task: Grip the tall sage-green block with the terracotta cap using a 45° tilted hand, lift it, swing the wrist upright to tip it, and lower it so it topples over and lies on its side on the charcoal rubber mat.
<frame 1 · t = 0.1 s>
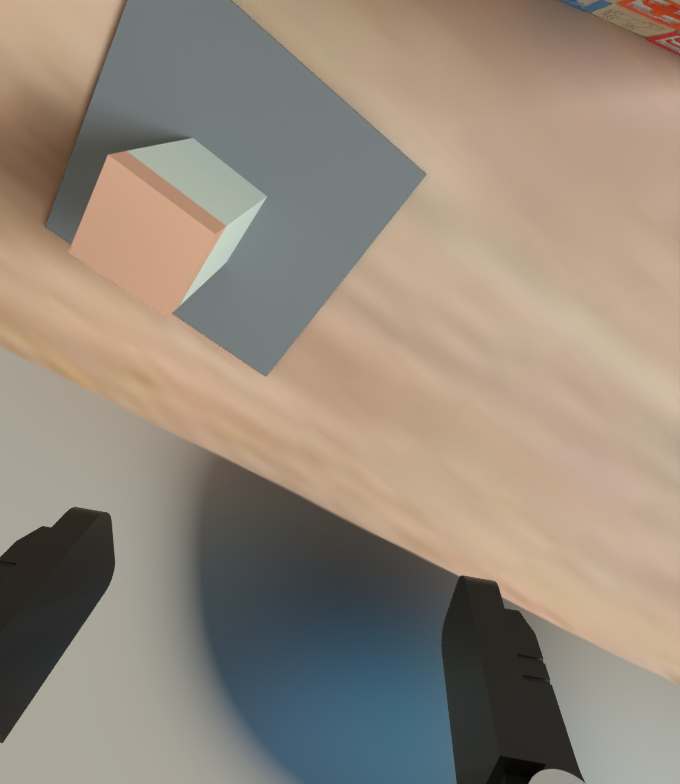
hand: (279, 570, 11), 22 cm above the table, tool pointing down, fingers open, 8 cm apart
charcoal mat: (223, 201, 28), on the table
sage block: (210, 204, 28), resting on charcoal mat
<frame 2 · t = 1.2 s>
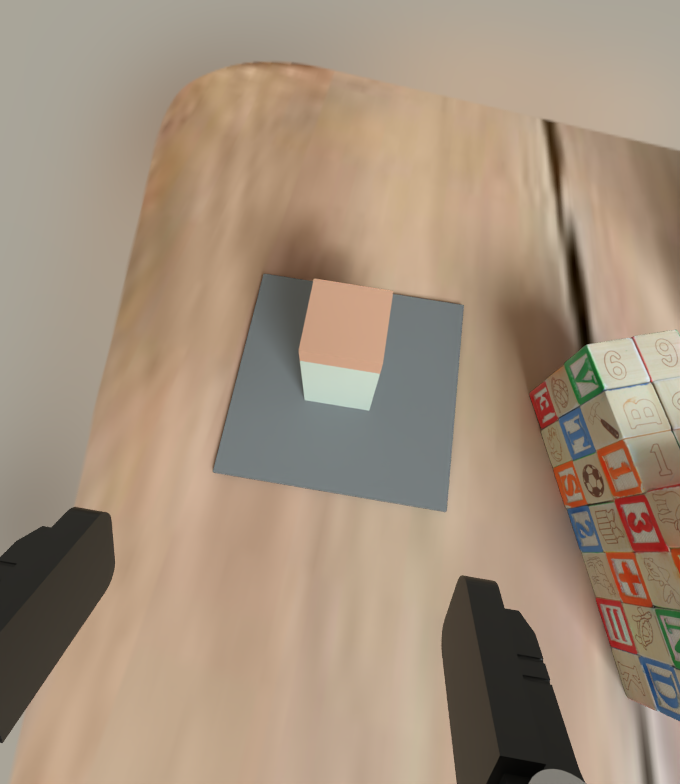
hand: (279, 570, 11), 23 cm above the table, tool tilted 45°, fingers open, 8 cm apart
charcoal mat: (347, 384, 37), on the table
stack of blocks: (609, 523, 34), on the table
sage block: (342, 375, 37), resting on charcoal mat
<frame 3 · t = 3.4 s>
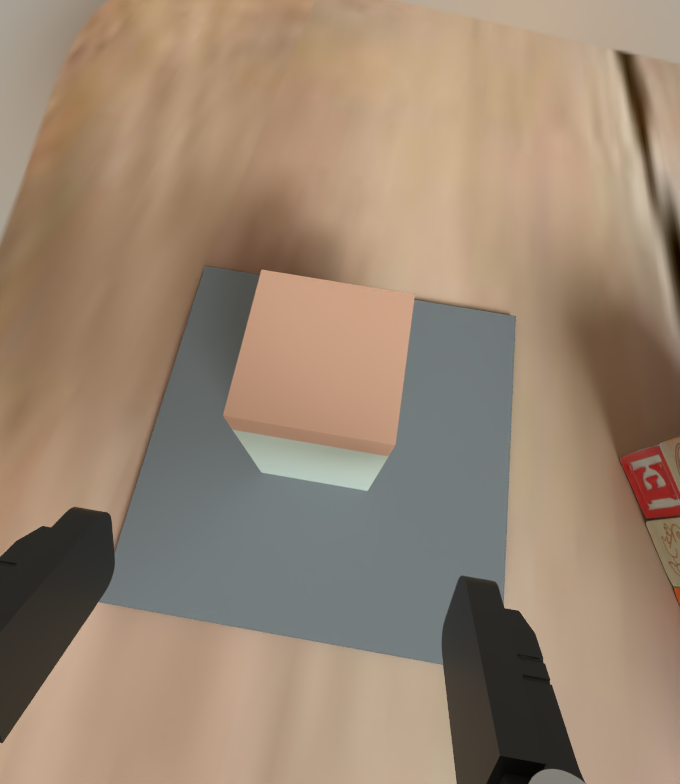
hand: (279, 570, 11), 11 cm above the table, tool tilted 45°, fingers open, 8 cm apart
charcoal mat: (332, 444, 23), on the table
sage block: (323, 430, 23), resting on charcoal mat
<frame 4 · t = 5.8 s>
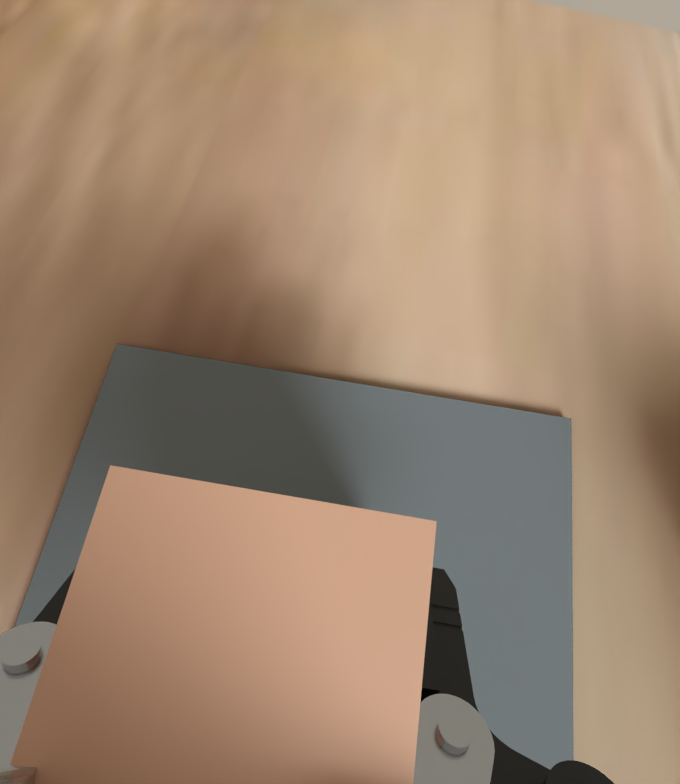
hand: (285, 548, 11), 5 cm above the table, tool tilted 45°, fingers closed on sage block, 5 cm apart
charcoal mat: (297, 632, 15), on the table
sage block: (284, 613, 15), resting on charcoal mat, touching gripper
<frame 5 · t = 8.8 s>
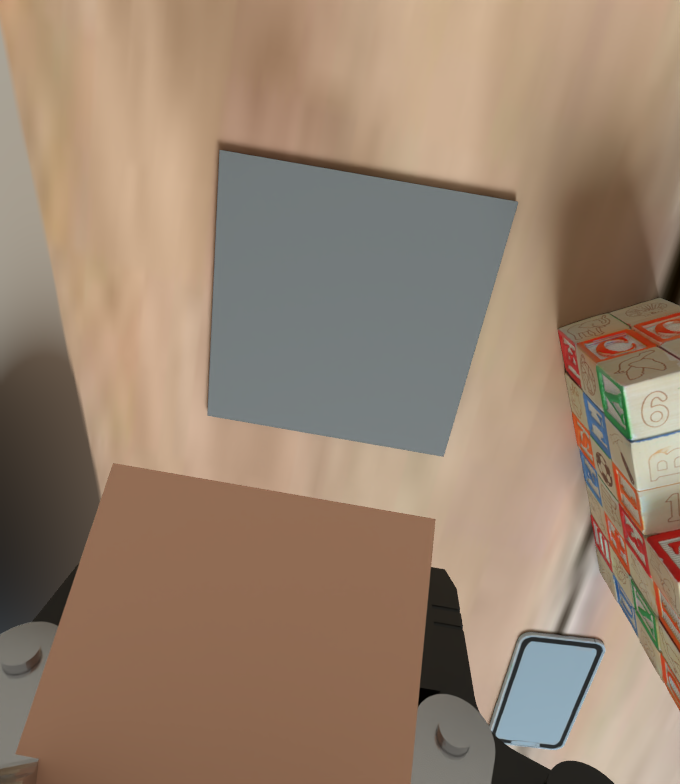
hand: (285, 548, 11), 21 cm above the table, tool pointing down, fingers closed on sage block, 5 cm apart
charcoal mat: (345, 319, 30), on the table
stack of blocks: (624, 451, 33), on the table
smartphone: (540, 686, 44), on the table
sage block: (286, 612, 15), point 19 cm above the table, tilted 44°, touching gripper
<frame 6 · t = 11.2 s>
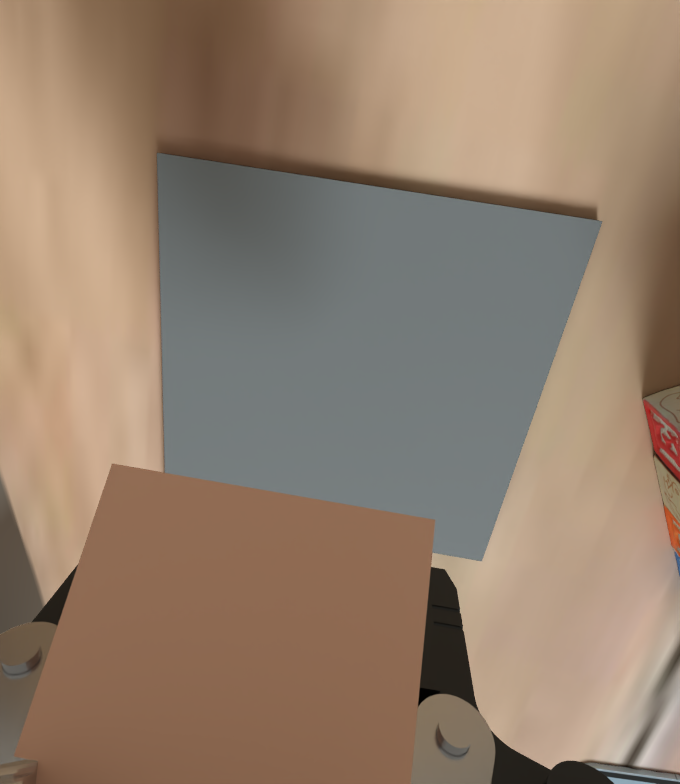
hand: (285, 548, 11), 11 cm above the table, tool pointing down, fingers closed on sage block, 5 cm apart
charcoal mat: (345, 385, 22), on the table
sage block: (285, 612, 15), point 10 cm above the table, tilted 45°, touching gripper
when the fingers open (5 cm above the table, at t = 13.3 s): sage block moves 2 cm and tips over, resting on charcoal mat.
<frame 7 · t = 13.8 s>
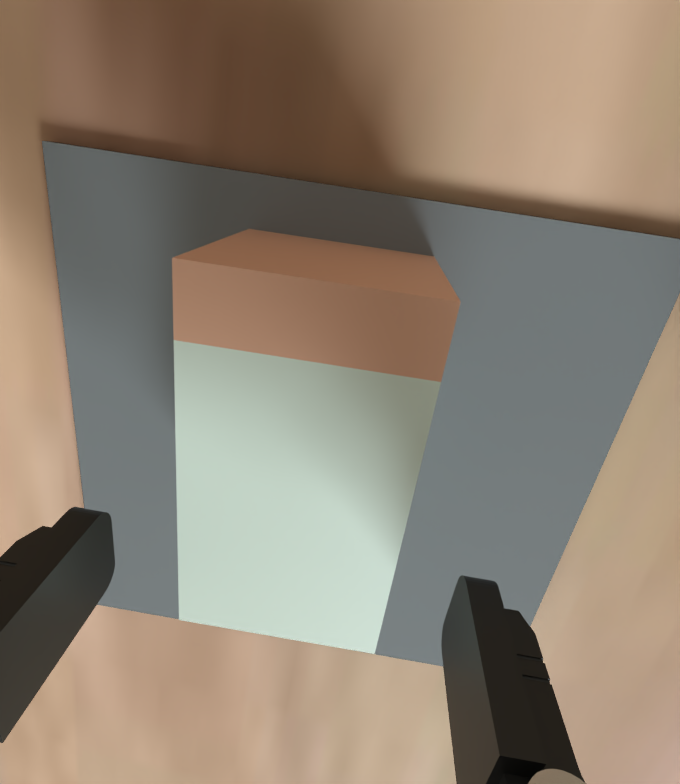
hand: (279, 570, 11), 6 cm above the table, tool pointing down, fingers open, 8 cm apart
charcoal mat: (326, 460, 16), on the table
sage block: (294, 563, 14), point 3 cm above the table, tilted 90°, touching charcoal mat
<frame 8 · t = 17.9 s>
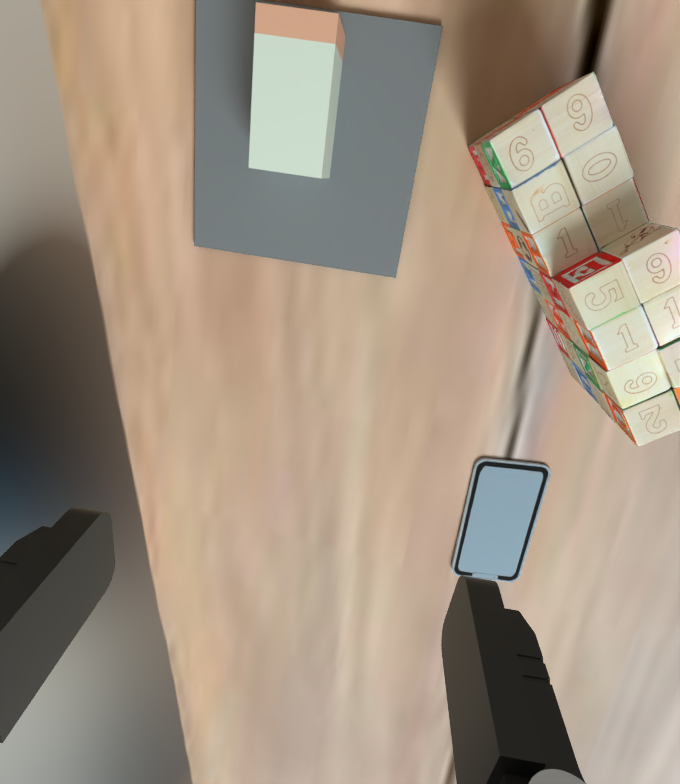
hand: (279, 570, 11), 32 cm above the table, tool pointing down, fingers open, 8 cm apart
charcoal mat: (306, 148, 36), on the table
stack of blocks: (559, 251, 38), on the table
smartphone: (496, 518, 49), on the table
sage block: (291, 173, 34), point 3 cm above the table, tilted 90°, touching charcoal mat
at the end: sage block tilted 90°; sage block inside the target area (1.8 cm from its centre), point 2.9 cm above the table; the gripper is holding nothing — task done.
